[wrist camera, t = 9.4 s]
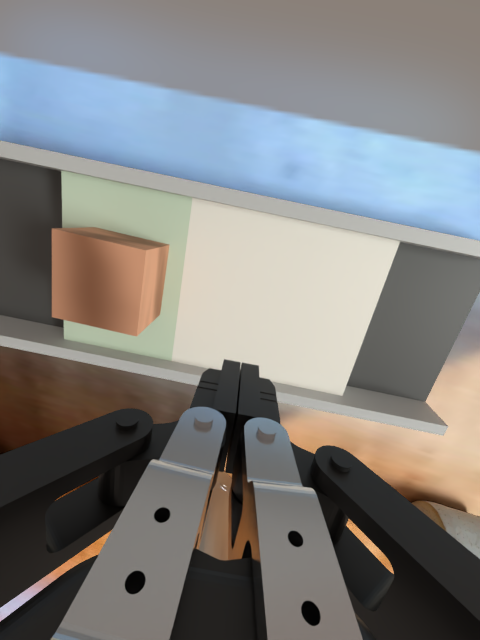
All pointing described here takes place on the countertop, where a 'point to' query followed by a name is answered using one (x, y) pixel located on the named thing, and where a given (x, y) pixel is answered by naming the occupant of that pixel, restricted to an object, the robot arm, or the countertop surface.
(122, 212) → the pad
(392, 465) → the countertop surface
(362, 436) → the countertop surface
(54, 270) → the block
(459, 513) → the ceramic mug
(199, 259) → the trap channel
